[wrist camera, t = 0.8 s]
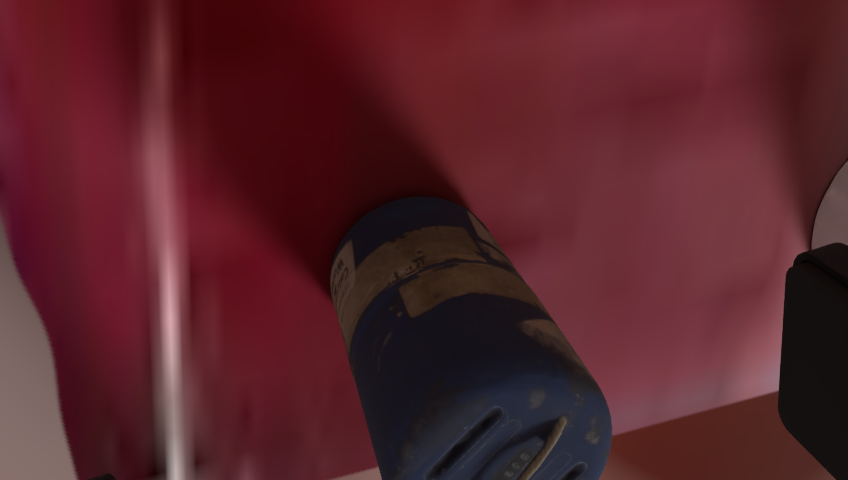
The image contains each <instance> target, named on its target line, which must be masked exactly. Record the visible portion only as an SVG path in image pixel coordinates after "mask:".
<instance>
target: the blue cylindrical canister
mask: <svg viewBox="0 0 848 480" xmlns="http://www.w3.org/2000/svg"><path fill="white" fill-rule="evenodd" d="M330 289H331V296H332V300H333V304H334V307H335V310H336V313H337V316H338V320H339V324H340V327H341V331H342V335H343V339H344V342H345V346H346V350H347V354H348V358H349V363H350V367H351V371H352V375H353V378H354V381H355V384H356V387H357V390H358V394H359V397H360V401H361V405H362V408H363V411H364V415H365V419H366V422H367V426H368V430H369V433H370V437H371V441H372V445H373V448H374V452H375V455H376V459H377V462H378V466H379V470H380V473H381V477H382V480H599V478H600V476H601V474H602V472H603V470H604V467H605V465H606V462H607V459H608V456H609V451H610V447H611V439H612V424H611V416H610V412H609V408H608V405H607V402H606V400H605V398H604V396H603V393H602V391H601V389H600V388H599V386H598V384H597V383H596V381H595V380H594V378H593V377H592V375H591V374H590V372H589V371H588V369H587V368H586V366H585V365H584V364H583V362H582V361H581V359H580V358H579V356H578V355H577V353H576V352H575V351H574V349H573V348H572V346H571V345H570V343H569V342H568V340H567V339H566V337H565V336H564V335H563V333H562V332H561V330H560V329H559V327H558V326H557V325H556V323H555V322H554V320H553V319H552V318H551V316H550V315H549V313H548V312H547V310H546V309H545V307H544V306H543V304H542V303H541V302H540V300H539V299H538V297H537V296H536V294H535V293H534V292H533V291H532V289H531V288H530V287H529V286H528V285H527V284H526V283H525V281H524V280H523V278H522V277H521V275H520V274H519V273H518V271H517V270H516V269H515V267H514V266H513V264H512V263H511V261H510V260H509V259H508V257H507V256H506V254H505V253H504V252H503V250H502V249H501V247H500V246H499V244H498V243H497V242H496V240H495V239H494V237H493V236H492V235H491V233H490V232H489V231H488V229H487V228H486V227H485V225H484V224H483V223H482V222H481V221H480V220H479V219H478V218H477V217H476V216H475V215H474V214H473V213H471V212H470V211H469V210H467V209H466V208H464V207H462V206H460V205H458V204H456V203H454V202H451V201H448V200H445V199H441V198H436V197H426V196H417V197H408V198H402V199H398V200H395V201H391V202H389V203H386V204H384V205H382V206H380V207H378V208H376V209H374V210H372V211H371V212H369V213H367V214H366V215H365V216H363V217H362V218H361V219H360V220H359V221H357V222H356V223H355V224H354V225H353V226H352V227H351V229H350V230H349V231H348V232H347V234H346V235H345V236H344V238H343V239H342V241H341V242H340V244H339V246H338V248H337V250H336V253H335V256H334V259H333V262H332V266H331V273H330Z"/></svg>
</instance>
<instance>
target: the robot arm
mask: <svg viewBox="0 0 848 480" xmlns="http://www.w3.org/2000/svg"><path fill="white" fill-rule="evenodd" d="M778 411H779V415H780V418H781V420H782V422H783V424H784V426H785V427H786V429H787V430H788V431H789V432H790V433H791V434H792V436H793V437H794V438H795V439H796V440H797V441H799V443H800V444H801V445H802V446H803V447H804V448H805V449H806V450H807V451H808V452H809V453H810V454H811V455H812V456H813V457H814V458H815V459H816V460H817V461H818V462H819V463H820V464H821V465H822V466H823V467H824V468H825V469H826V470H827V471H828V472H829V473H830V474H831V475H832V476H833V477H834V478H835V479H836V480H848V245H845V244H843V243H836V242H835V243H832V244H828V245H825V246H822V247H819V248H816V249H813V250H810V251H806V252H803V253H801V254H799V255H797V257H796V258H795V260H794V264H793V267H791V268H789V269H788V271H787V274H786V283H785V299H784V315H783V332H782V348H781V364H780V381H779V397H778ZM88 480H116V479H115V478H114V476H112V475H111V474H104V475H101V476H98V477H95V478H91V479H88ZM127 480H129V479H127Z"/></svg>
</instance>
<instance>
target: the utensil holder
mask: <svg viewBox="0 0 848 480" xmlns="http://www.w3.org/2000/svg"><path fill="white" fill-rule="evenodd" d="M835 242H836V243H843V244H845V245H848V161H847V162H846V163H845V164H844V165H843V167H842V168H841V169H840V170H839V172H838V173H837V175H836V176H835V178H834V180H833V181H832V183H831V185H830V187H829V188H828V190H827V192H826V194H825V196H824V198H823V200H822V202H821V205H820V207H819V209H818V213H817V216H816V219H815V224H814V229H813V236H812V250H813V249H816V248H819V247H822V246H825V245H828V244H832V243H835Z"/></svg>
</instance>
